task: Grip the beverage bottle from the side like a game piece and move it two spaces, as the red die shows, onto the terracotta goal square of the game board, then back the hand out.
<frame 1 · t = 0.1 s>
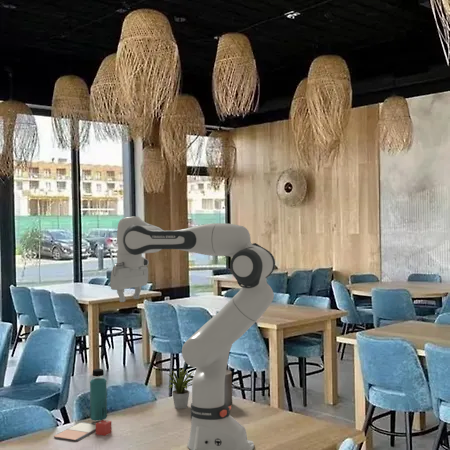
hand: (129, 300, 213), 48 cm above the table, tool pointing down, fingers open, 8 cm apart
red die: (103, 433, 213), on the table
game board: (79, 431, 215), on the table
beverage bottle: (98, 422, 226), on the table
pillar candle: (220, 405, 247), on the table
house plant: (179, 408, 243), on the table
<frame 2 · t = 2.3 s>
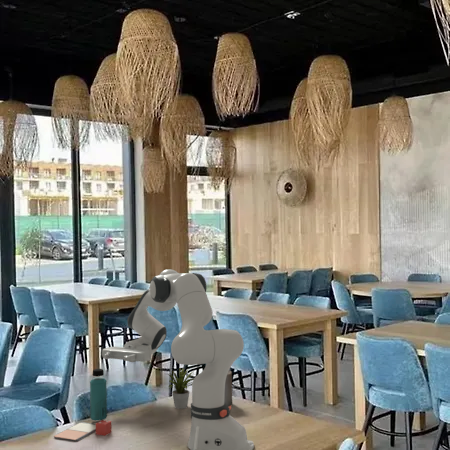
hand: (115, 358, 237), 22 cm above the table, tool horizontal, fingers open, 8 cm apart
nothing on the table moved.
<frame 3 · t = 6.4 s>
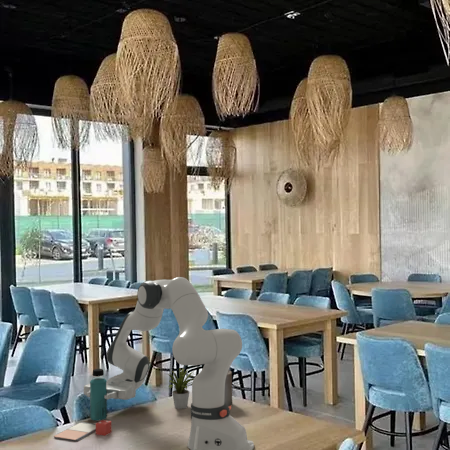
hand: (97, 396, 225), 10 cm above the table, tool horizontal, fingers closed on beverage bottle, 6 cm apart
beverage bottle: (98, 422, 226), on the table, touching gripper
everything else where it was.
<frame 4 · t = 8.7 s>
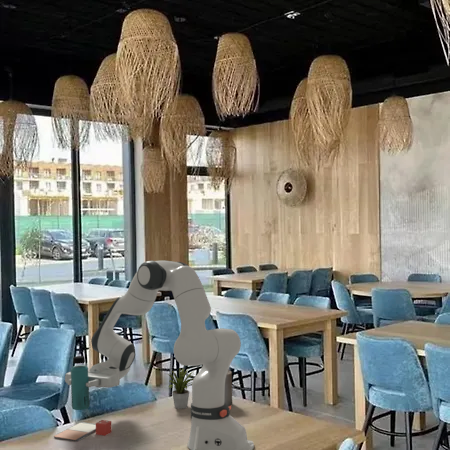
hand: (78, 383, 214), 18 cm above the table, tool horizontal, fingers closed on beverage bottle, 6 cm apart
beverage bottle: (80, 412, 215), point 7 cm above the table, touching gripper
everything else where it was.
when the fingers open (12 cm above the table, at t = 11.1 s): beverage bottle stays where it is, resting on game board.
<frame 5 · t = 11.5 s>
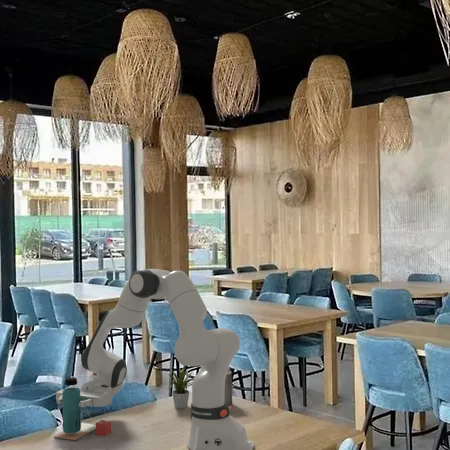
hand: (69, 403, 209), 12 cm above the table, tool horizontal, fingers open, 8 cm apart
beverage bottle: (71, 435, 210), point 1 cm above the table, touching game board
everything else where it was.
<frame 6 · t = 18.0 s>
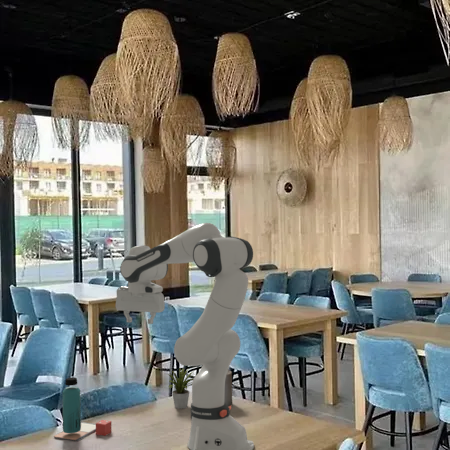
hand: (139, 323, 229), 37 cm above the table, tool pointing down, fingers open, 8 cm apart
nothing on the table moved.
at the end: beverage bottle inside the target area (0.3 cm from its centre), point 0.5 cm above the table; beverage bottle tilted 0°; the gripper is holding nothing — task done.
